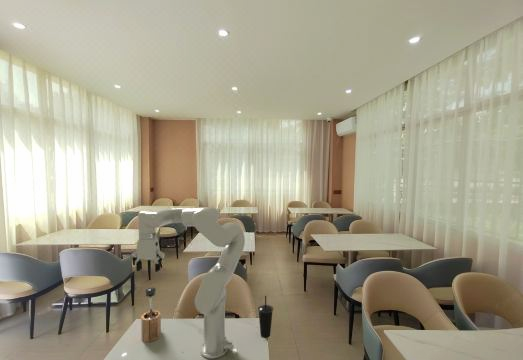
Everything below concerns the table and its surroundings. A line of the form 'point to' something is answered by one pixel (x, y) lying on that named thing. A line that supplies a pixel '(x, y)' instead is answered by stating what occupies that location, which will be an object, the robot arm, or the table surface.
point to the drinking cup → (265, 319)
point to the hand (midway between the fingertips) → (148, 270)
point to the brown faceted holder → (150, 326)
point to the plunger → (150, 300)
